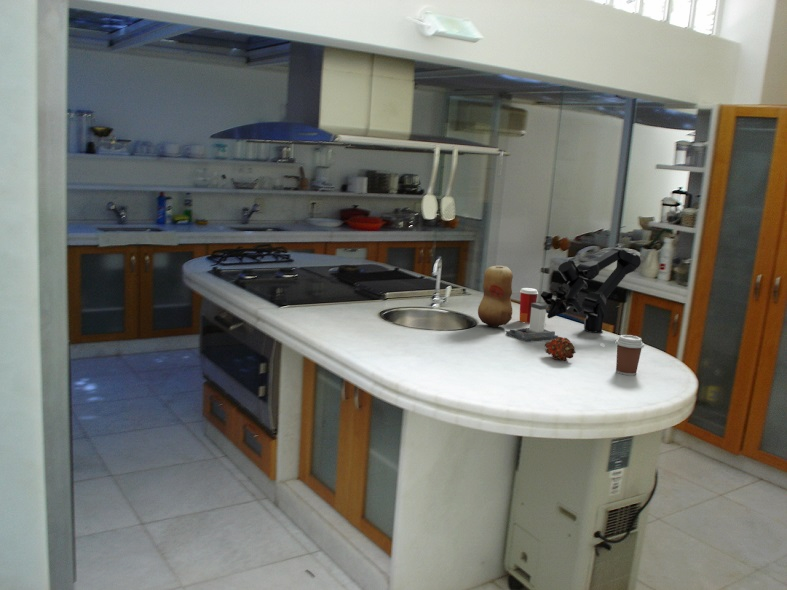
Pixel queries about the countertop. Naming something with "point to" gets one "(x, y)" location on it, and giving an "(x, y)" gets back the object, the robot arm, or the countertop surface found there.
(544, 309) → the plate
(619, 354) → the coffee cup
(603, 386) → the countertop surface
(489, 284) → the butternut squash
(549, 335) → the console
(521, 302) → the paper cup
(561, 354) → the dragon fruit
